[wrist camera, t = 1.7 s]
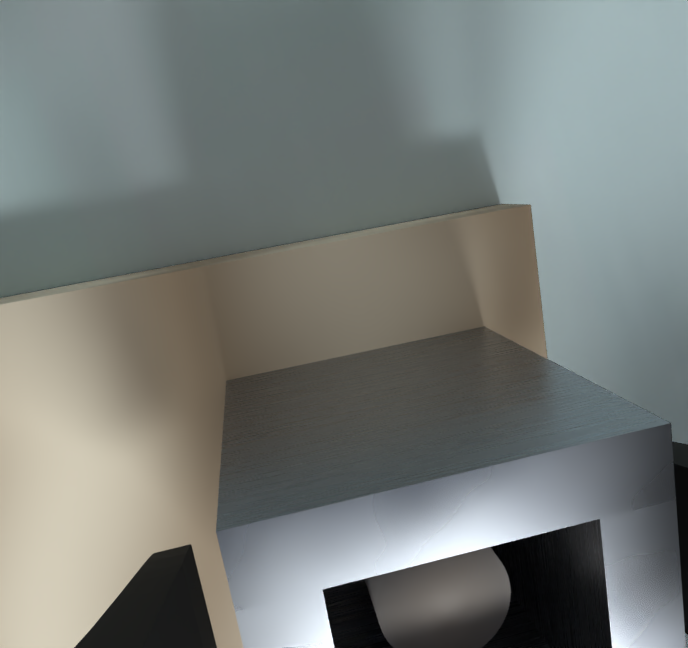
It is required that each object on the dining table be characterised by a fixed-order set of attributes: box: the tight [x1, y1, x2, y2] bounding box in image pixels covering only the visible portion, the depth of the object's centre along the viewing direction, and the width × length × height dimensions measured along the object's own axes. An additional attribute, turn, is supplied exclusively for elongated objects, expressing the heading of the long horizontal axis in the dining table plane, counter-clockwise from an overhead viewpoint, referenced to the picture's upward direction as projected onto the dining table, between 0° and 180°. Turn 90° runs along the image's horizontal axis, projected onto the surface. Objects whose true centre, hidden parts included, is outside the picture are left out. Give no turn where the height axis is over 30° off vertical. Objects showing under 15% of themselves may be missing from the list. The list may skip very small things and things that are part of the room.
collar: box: [216, 326, 686, 648], centre depth 11 cm, size 5×5×6 cm
